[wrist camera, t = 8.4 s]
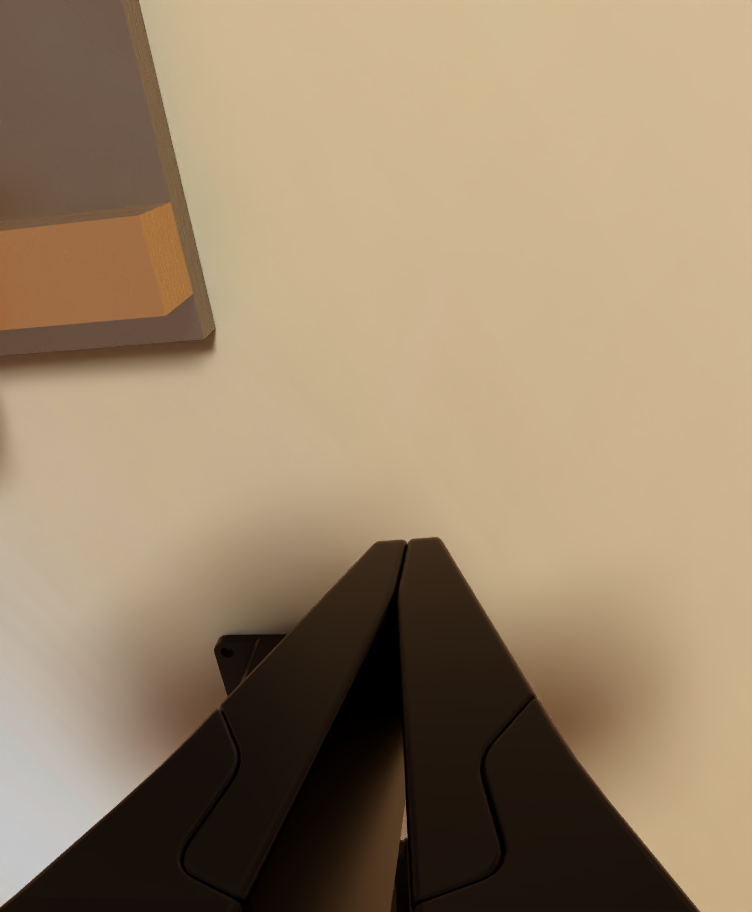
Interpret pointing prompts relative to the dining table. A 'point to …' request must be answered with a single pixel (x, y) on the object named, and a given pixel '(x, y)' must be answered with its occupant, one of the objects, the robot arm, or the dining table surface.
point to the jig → (89, 186)
